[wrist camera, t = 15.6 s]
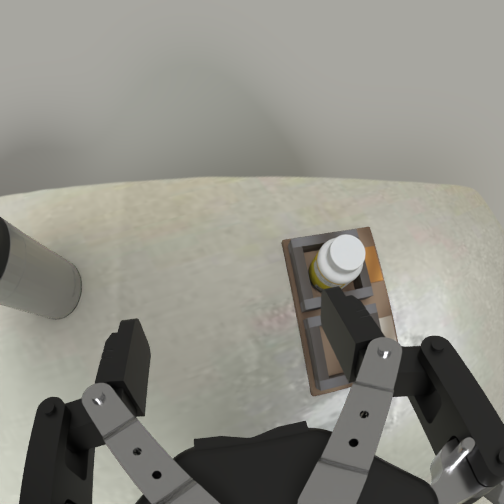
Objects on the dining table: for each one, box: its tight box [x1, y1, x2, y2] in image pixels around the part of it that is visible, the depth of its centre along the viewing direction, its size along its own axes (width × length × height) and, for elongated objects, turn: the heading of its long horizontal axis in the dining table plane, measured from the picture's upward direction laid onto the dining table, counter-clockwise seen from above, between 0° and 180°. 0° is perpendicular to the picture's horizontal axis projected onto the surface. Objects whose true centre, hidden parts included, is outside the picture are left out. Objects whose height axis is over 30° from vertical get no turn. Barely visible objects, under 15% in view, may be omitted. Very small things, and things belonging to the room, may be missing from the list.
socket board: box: [282, 227, 398, 396], centre depth 40 cm, size 13×21×4 cm, turn 10°
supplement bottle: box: [308, 234, 365, 292], centre depth 37 cm, size 5×5×10 cm
